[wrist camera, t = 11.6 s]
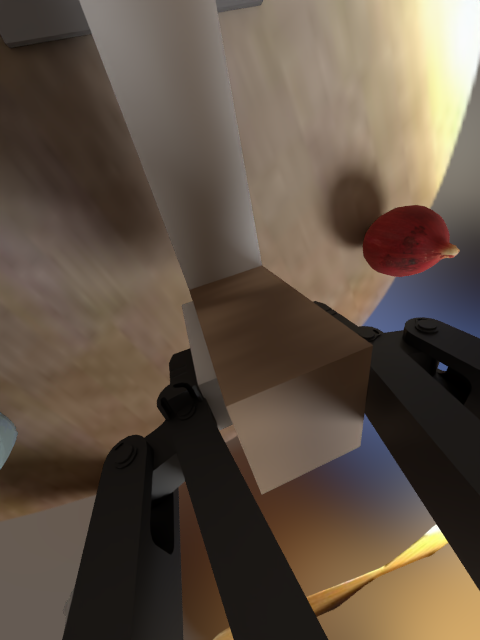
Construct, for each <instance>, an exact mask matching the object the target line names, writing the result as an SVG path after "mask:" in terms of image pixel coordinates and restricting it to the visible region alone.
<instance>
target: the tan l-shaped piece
mask: <svg viewBox="0 0 480 640" xmlns="http://www.w3.org/2000/svg"><path fill="white" fill-rule="evenodd" d="M79 1H80V4H81V6H82V9H83V12H84V14H85V17H86V20H87V22H88V25H89V27H90V30H91V33H92V35H93V38H94V41H95V43H96V46H97V49H98V51H99V54H100V56H101V59H102V62H103V64H104V67H105V70H106V72H107V75H108V77H109V80H110V83H111V85H112V88H113V91H114V93H115V96H116V98H117V101H118V104H119V106H120V109H121V112H122V114H123V117H124V120H125V122H126V125H127V127H128V130H129V133H130V135H131V138H132V141H133V143H134V146H135V148H136V151H137V154H138V156H139V159H140V162H141V164H142V167H143V169H144V172H145V175H146V177H147V180H148V183H149V185H150V188H151V191H152V193H153V196H154V198H155V201H156V204H157V206H158V209H159V212H160V214H161V217H162V219H163V222H164V225H165V227H166V230H167V233H168V235H169V238H170V240H171V243H172V246H173V248H174V251H175V254H176V256H177V259H178V261H179V264H180V267H181V269H182V272H183V275H184V277H185V280H186V283H187V285H188V288H189V291H190V294H191V297H192V300H193V303H194V307H195V310H196V313H197V316H198V319H199V323H200V326H201V329H202V332H203V335H204V339H205V342H206V345H207V348H208V351H209V355H210V358H211V361H212V364H213V368H214V371H215V374H216V377H217V380H218V384H219V387H220V390H221V393H222V396H223V400H224V403H225V406H226V409H227V411H228V414H229V416H230V418H231V421H232V423H233V426H234V428H235V431H236V433H237V435H238V438H239V440H240V442H241V445H242V448H243V450H244V452H245V455H246V457H247V460H248V462H249V465H250V467H251V469H252V472H253V474H254V477H255V479H256V482H257V484H258V486H259V488H260V491H261V494H264V493H266V492H268V491H270V490H272V489H274V488H276V487H278V486H280V485H282V484H284V483H286V482H288V481H290V480H292V479H295V478H297V477H299V476H301V475H303V474H305V473H307V472H309V471H311V470H313V469H315V468H317V467H319V466H321V465H323V464H325V463H327V462H329V461H331V460H333V459H335V458H337V457H340V456H342V455H344V454H346V453H348V452H350V451H352V450H354V449H356V448H358V447H360V444H361V436H362V428H363V420H364V412H365V404H366V396H367V388H368V380H369V372H370V364H371V356H372V348H373V345H372V344H371V343H369V342H368V341H366V340H365V339H364V338H362V337H361V336H359V335H358V334H357V333H355V332H354V331H353V330H351V329H350V328H348V327H347V326H346V325H344V324H343V323H341V322H340V321H339V320H337V319H336V318H334V317H333V316H332V315H330V314H329V313H327V312H326V311H325V310H323V309H322V308H320V307H319V306H318V305H316V304H315V303H314V302H312V301H311V300H309V299H308V298H307V297H305V296H304V295H302V294H301V293H300V292H298V291H297V290H295V289H294V288H293V287H291V286H290V285H288V284H287V283H286V282H284V281H283V280H282V279H280V278H279V277H277V276H276V275H275V274H273V273H272V272H270V271H269V270H268V269H266V268H265V267H263V266H262V262H261V257H260V251H259V245H258V240H257V234H256V228H255V222H254V217H253V211H252V205H251V200H250V194H249V188H248V183H247V177H246V171H245V166H244V160H243V154H242V148H241V143H240V137H239V131H238V126H237V120H236V114H235V109H234V103H233V97H232V92H231V86H230V80H229V74H228V69H227V63H226V57H225V52H224V46H223V40H222V35H221V29H220V23H219V18H218V12H217V6H216V0H79Z"/></svg>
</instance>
